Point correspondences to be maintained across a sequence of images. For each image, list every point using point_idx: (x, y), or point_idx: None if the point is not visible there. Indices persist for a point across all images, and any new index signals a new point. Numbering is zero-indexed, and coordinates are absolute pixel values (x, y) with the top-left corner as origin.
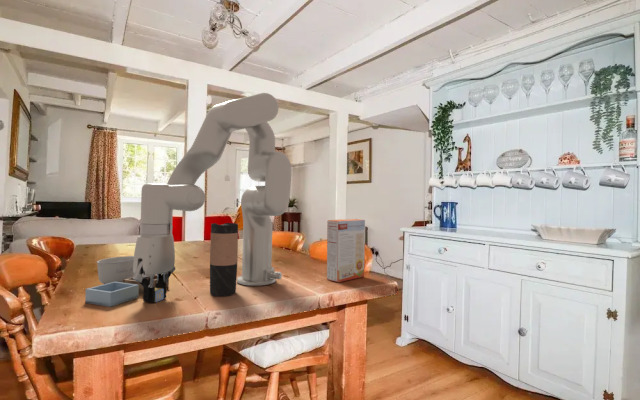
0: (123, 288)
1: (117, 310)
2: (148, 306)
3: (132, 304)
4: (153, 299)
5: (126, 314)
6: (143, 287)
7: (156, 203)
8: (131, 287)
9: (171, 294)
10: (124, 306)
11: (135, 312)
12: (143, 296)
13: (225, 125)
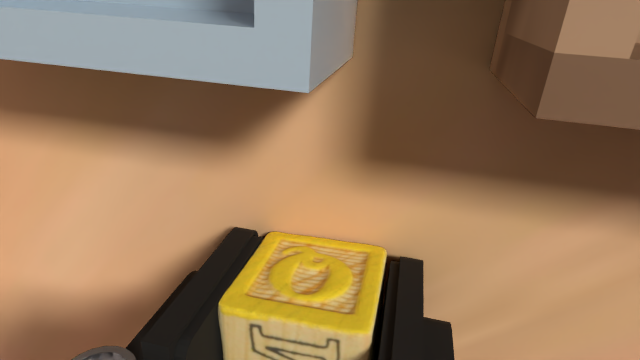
0: (6, 24)
1: (3, 162)
2: None
3: (154, 168)
4: None
5: (5, 275)
6: (527, 18)
7: None
8: (151, 69)
9: (590, 330)
10: (85, 140)
11: (57, 303)
12: (215, 253)
13: None
